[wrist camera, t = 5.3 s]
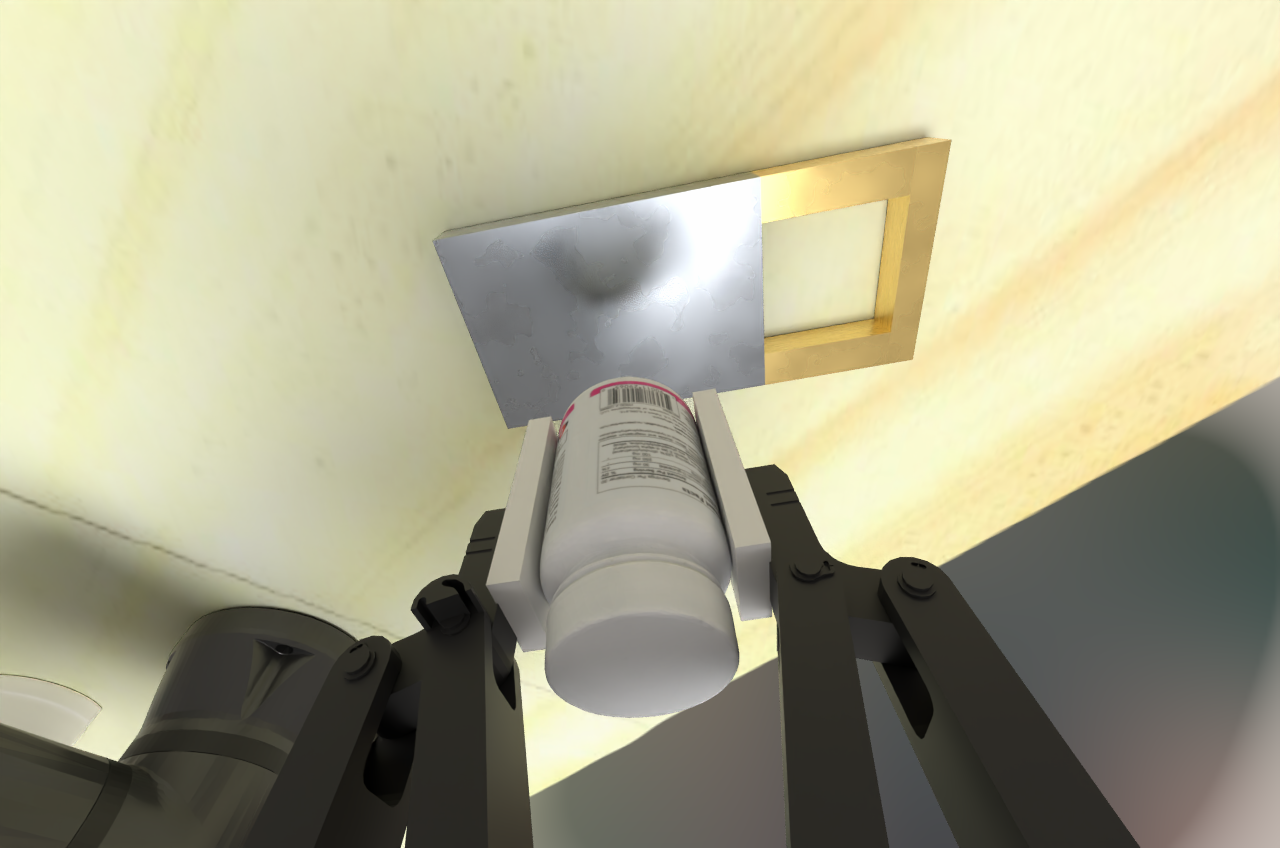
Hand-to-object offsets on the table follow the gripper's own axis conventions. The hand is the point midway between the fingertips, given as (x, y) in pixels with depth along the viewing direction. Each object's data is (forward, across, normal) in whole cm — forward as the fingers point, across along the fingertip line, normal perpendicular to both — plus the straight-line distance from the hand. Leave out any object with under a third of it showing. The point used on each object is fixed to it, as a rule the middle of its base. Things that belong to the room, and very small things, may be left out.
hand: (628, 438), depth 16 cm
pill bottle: (+1, 0, 0) cm, 1 cm away
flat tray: (+13, +4, 0) cm, 13 cm away
